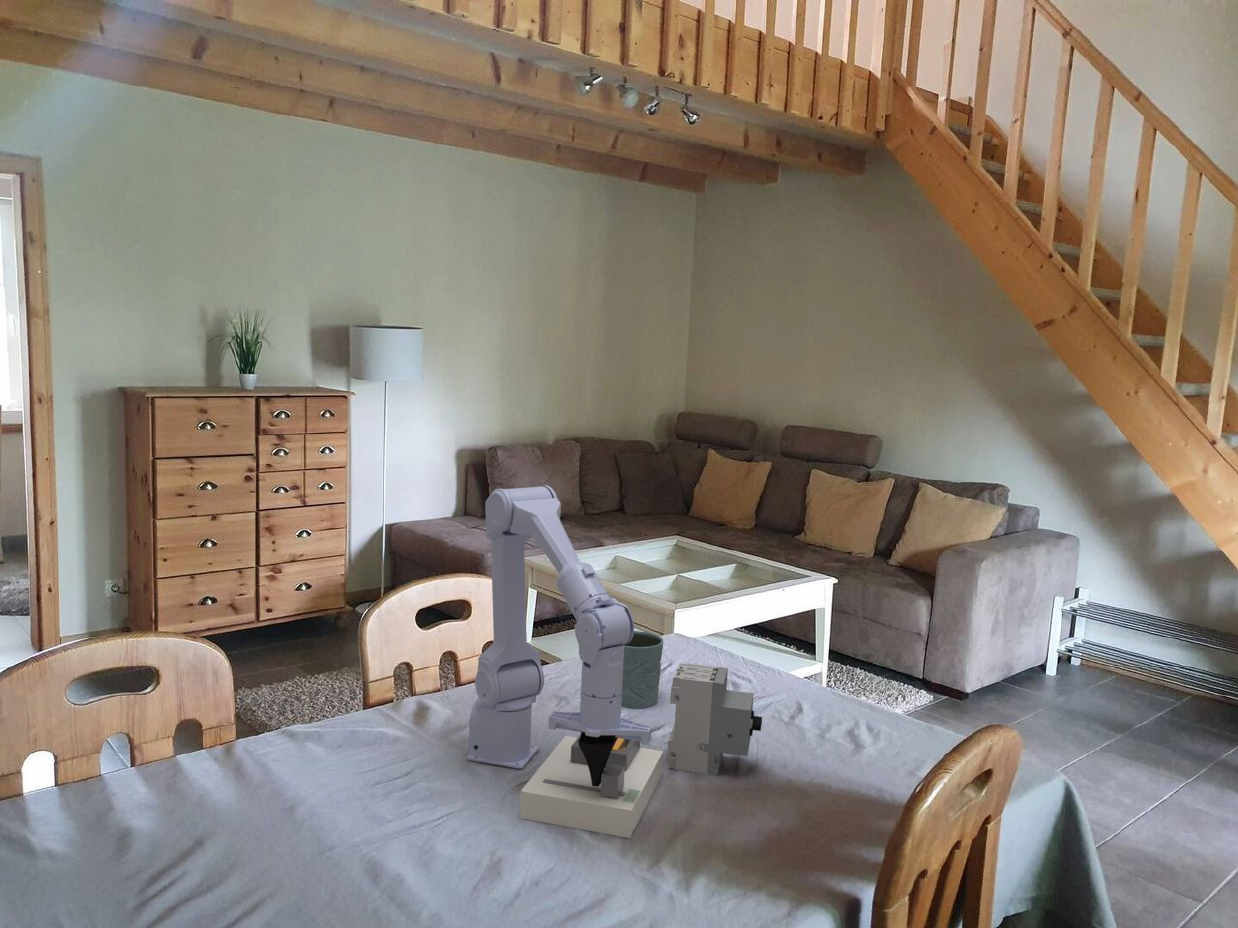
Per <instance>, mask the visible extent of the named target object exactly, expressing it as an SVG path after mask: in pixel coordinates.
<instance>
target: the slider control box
mask: <svg viewBox="0 0 1238 928" xmlns="http://www.w3.org/2000/svg"><path fill="white" fill-rule="evenodd" d="M580 735H581V733H580V734H579V736H578V737H574V736H569V735H568V736H567V735H565V736H564V737H563V738H562V740H561V741H560V742H559V743H558V745H557V746H556V747H555V748H554V749H553V750H552V752H551V753H550V754H549V756H548V757H547V758H546V759H545V760H544V761H543V763H542V764H541V765H540V766H539V768H538V769H537V770H536V772H535V773H534V774H533V775H532V777H530V779H529V780H528V781H527V783H525V785H524V786H523V787H522V789H520V799H519V800H520V801H519V819H523V820H529V821H532V822H533V821H534V822H539V823H544V824H551V825H555V826H556V825H557V826H562V827H567V828H572V829H577V830H584V831H588V832H594V833H600V834H605V835H610V836H615V837H621V838H626V839H631V838H632V835H633V833H634V831H635V829H636V827H637V826H638V824H639V821H640V820H641V817H642V815H643V813H644V812H645V810H646V807H647V805H648V804H649V802H650V800H651V798H652V796H653V794H654V792H655V790H656V788H657V786H658V784H659V782H660V780H661V779H662V776H663V766H664V765H663V764H664V763H663V762H664V751H663V750H657V749H651V748H644V747H641V741H635V740H628V739H625V748H624V751H623V752H619V751H611V753H610V755H609V758H608V760H607V763H606V766H605V768H606V767H607V765H608V764H613V765H619V766H625V772H624V787H623V789H622V791H621V792H620V794H619V796H618V797H617V798H615V797H609V796H603V795H601V784H600V785H599V787H595V786H592V782H591V776H590V772H589V768H588V764H587V761H586V759H585V756H584V754H583V752H582V750H581V749H580V747H579V743H578V740H579V739H580ZM604 770H605V769H604Z"/></svg>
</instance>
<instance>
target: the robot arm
mask: <svg viewBox="0 0 1238 928" xmlns="http://www.w3.org/2000/svg"><path fill="white" fill-rule="evenodd" d="M484 509H485V531H486V532H485V534H486V539H488V540H489V541H490V548H491V549H490V551H491V552H490V554H491V555H490V556H491V558H490V559H491V560H490V561H491V562H490V564H491V591H492V592H491V593H492V596H491V597H492V620H493V623H492V625H493V630H492V631H493V642H492V644H491V645H489V647H488V648H486V650H485V651H483V652H482V653H481V654H480V655H479V656H478V663H477V664H478V665H477V672H476V675H475V678H474V679H475V682H474V685H475V687H474V688H475V692H476V694H477V697H478V698H477V699H476V700H475V701H474V703H473V706H472V708H471V710H470V714H469V715H470V716H469V727H468V728H469V729H468V730H469V731H468V754H467V756H466V760H467V761H473V762H479V763H484V764H485V763H486V764H491V765H494V766H496V765H497V766H502V767H507V768H514V769H523V768H524V767H526V765H527V764H528V763H529V761H530V760H531V759H532V758H533V756H535V755H536V753H537V752H538V751H539V749H540V748H539V746H538V745H532V744H531V741H532V738H531V736H532V710H533V709H532V708H533V704H535V703H536V702H537V696H539V695H540V694H541V693H542V692H543V688H544V684H545V674H544V669H543V667H542V663H541V653H540V652H539V650H538V649H536V648H535V647H533V646H532V645H531V644H529V643H528V641H527V639H528V638H527V607H526V604H527V602H526V601H527V600H526V569H525V568H526V567H525V563H526V562H525V545H526V543H527V542H528V541H529V540H530V539H531V538H533V539H534V540H535V541H536V542H537V544H538V546H539V547H540V549H542V550H541V551H543V553H544V554H545V555H546V557H547V558H548V560H549V561H550V563H551V564H552V566H553V567H554V568H555V570H556V571H557V573H558V576H557V577H558V578H557V580H556V586H557V588H558V591H559V593H560V594H561V596H562V598H563V600H564V601H565V603H566V604H567V606H568V608H569V610H570V612H571V613H572V615H573V616H574V619H575V620H576V624H574V634H575V638H576V641H577V644H578V656H579V659H580V660H581V661H582V664H581V683H580V685H581V686H580V702H579V703H580V705H579V712H571V711H570V712H569V711H567V712H565V711H555V710H553V711H552V712H551V713H550V715H549V716H548V730H551V731H556V730H557V729H560V730H567V731H571V732H577V733H578V732H579V733H580V734H581V735H580V734H579V736H580V739H579V740H578V743H579V747H580V749H581V750H582V752H583V754H584V756H585V759H586V761H587V764H588V768H589V772H590V776H591V782H592V786H595V787H599V785H600V784H601V775H602V773H603V771H604V769H605V766H606V763H607V760H608V758H609V755H610V753H611V751H612V749H613V747H614V745H615V743H616V741H617V739H618V738H622V739H628V740H635V741H640V744H642V745H649V744H650V742H651V740H652V737H653V732H652V731H653V726H652V725H647V724H642V723H641V722H640V723H639V722H637V721H634V720H630V719H627V718H624V717H622V706H621V701H622V681H623V662H624V644H627V643H629V642H630V641H631V639H632V637H633V634H634V631H635V623H634V622H635V621H634V618H633V616H632V613H631V612H630V609H629V607H628V606H627V605H626V604H624V603H623V602H620V601H618V600H617V599H616V598H615V597H611V595H610V594H609V593H608V590H607V589H606V587H605V586H604V585H603V583H602V581H601V579H600V578H599V576H598V574H597V572H596V571H595V569H594V567H593V566H592V565H591V564H590V563H588V562H582V561H580V558H579V556H578V555H577V552H576V551H575V548H574V546H573V544H572V542H571V540H570V538H569V536H568V534H567V532H566V530H565V527H564V526H563V523H562V521H561V512H562V504H561V502H560V500H559V499H558V496H557V494H556V492H555V490H554V489H553V488H552V487H551V486H550V485H545V484H544V485H540V486H531V487H519V488H518V487H516V488H495V489H493V491H492V492H491V493H490V495H489V496H488V497H487V499H486V500H485V507H484Z"/></svg>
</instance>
